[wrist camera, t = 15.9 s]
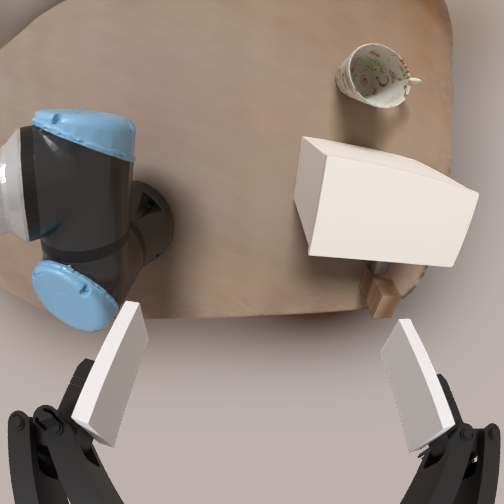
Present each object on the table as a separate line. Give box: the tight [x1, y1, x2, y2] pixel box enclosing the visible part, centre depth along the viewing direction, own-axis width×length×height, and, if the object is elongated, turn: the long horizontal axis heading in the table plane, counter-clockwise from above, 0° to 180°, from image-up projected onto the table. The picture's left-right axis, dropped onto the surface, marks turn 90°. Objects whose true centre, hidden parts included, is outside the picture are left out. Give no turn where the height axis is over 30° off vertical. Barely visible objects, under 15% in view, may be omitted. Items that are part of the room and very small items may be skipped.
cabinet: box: [294, 136, 479, 267], centre depth 32 cm, size 20×10×17 cm, turn 86°
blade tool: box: [359, 260, 402, 318], centre depth 43 cm, size 4×15×9 cm, turn 176°
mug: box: [336, 44, 421, 108], centre depth 27 cm, size 8×13×10 cm, turn 103°
